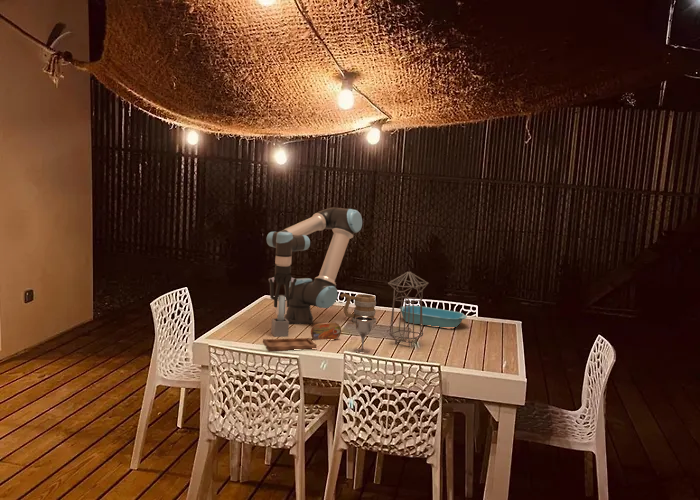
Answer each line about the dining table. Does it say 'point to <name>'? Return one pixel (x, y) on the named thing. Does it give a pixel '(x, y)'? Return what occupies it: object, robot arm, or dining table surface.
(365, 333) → the wine glass
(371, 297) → the tankard
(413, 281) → the geometric lantern
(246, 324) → the dining table surface
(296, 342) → the tray
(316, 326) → the tin
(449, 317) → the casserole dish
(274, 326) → the cup
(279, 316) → the dowel
